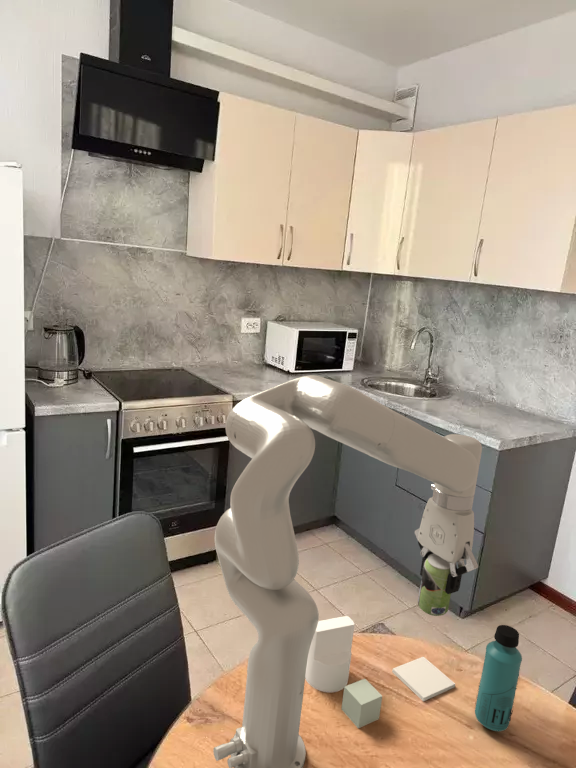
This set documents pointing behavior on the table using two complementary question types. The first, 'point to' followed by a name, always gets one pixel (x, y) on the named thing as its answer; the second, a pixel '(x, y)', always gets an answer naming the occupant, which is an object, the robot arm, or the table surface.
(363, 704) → the sage block
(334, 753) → the table surface
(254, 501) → the robot arm
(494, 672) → the beverage bottle
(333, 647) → the cylinder with rectangular tab
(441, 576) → the beverage can
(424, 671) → the coaster
